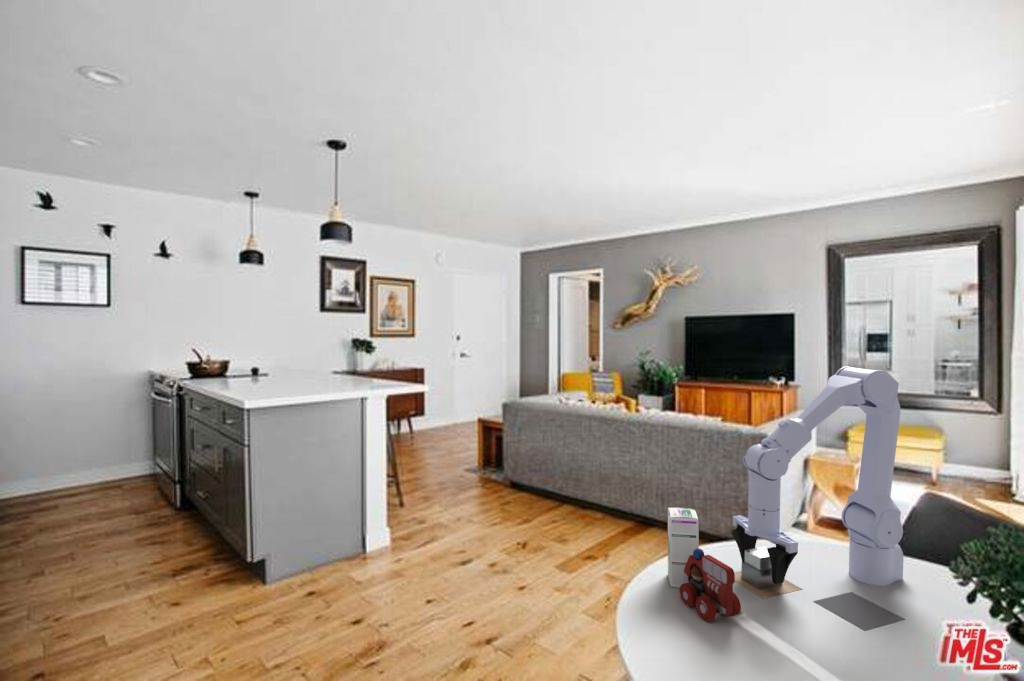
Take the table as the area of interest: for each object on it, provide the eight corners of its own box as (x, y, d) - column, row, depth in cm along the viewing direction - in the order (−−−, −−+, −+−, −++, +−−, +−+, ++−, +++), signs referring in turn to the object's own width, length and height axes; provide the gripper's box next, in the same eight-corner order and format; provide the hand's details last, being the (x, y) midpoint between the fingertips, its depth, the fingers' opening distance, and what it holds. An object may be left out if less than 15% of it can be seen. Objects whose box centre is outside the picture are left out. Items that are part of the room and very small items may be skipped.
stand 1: (762, 573, 114) (762, 566, 114) (802, 596, 104) (802, 589, 104) (724, 581, 110) (724, 574, 110) (762, 606, 101) (762, 598, 101)
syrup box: (699, 590, 107) (700, 518, 106) (668, 587, 108) (669, 516, 107) (695, 576, 112) (696, 508, 112) (666, 573, 114) (667, 506, 113)
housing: (764, 574, 110) (765, 545, 110) (782, 584, 106) (783, 554, 106) (741, 579, 108) (741, 550, 108) (758, 589, 104) (759, 559, 104)
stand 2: (851, 599, 103) (851, 591, 103) (905, 627, 94) (905, 619, 94) (812, 609, 100) (812, 601, 100) (864, 639, 90) (864, 630, 90)
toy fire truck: (702, 589, 107) (703, 538, 107) (747, 623, 95) (748, 565, 95) (672, 595, 105) (673, 543, 104) (715, 630, 93) (715, 571, 93)
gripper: (721, 497, 112) (720, 561, 112) (778, 522, 98) (776, 594, 99) (748, 493, 114) (747, 556, 115) (807, 517, 101) (805, 588, 101)
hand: (762, 573), depth 107 cm, fingers open, 7 cm apart
